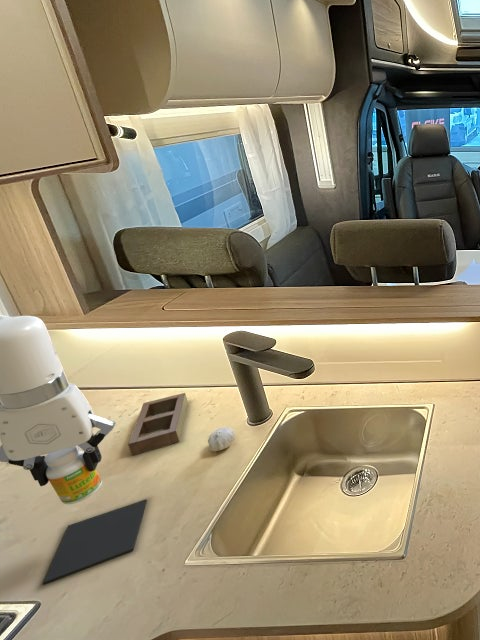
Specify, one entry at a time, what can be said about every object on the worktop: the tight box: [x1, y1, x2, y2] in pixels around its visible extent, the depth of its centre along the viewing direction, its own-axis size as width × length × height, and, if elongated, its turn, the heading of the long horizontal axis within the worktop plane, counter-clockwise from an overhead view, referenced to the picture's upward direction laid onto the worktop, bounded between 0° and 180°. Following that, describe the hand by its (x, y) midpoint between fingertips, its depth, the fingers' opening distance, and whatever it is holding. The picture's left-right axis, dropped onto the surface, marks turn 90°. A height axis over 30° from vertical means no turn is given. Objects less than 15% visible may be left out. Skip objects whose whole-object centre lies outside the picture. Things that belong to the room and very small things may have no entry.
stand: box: [128, 392, 189, 456], centre depth 106 cm, size 9×16×4 cm, turn 30°
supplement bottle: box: [44, 445, 103, 505], centre depth 74 cm, size 5×5×10 cm
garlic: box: [207, 426, 236, 452], centre depth 101 cm, size 6×5×5 cm
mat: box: [42, 498, 148, 585], centre depth 79 cm, size 12×12×1 cm
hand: (71, 471), depth 74 cm, fingers closed on supplement bottle, 5 cm apart
